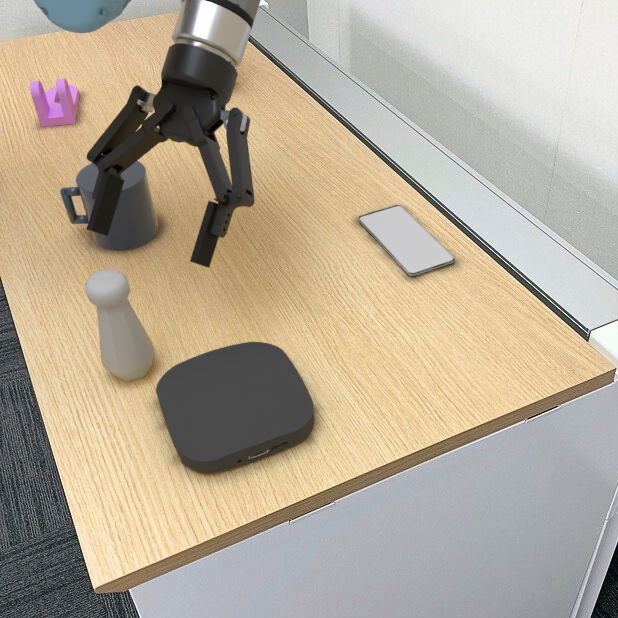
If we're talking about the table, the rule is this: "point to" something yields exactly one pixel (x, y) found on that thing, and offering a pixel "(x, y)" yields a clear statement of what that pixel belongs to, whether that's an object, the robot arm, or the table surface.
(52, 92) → the bracket
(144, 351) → the salt shaker
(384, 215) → the smartphone
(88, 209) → the mug
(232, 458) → the media streaming box
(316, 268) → the table surface
